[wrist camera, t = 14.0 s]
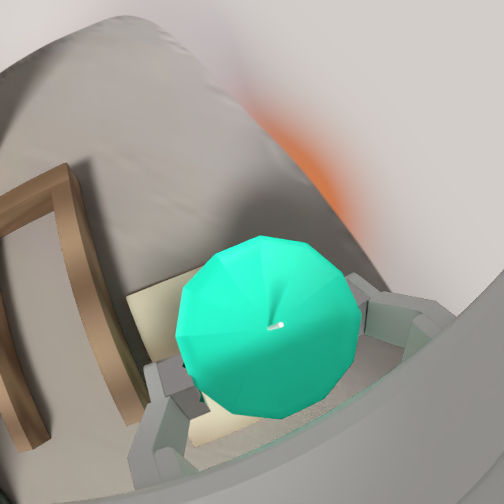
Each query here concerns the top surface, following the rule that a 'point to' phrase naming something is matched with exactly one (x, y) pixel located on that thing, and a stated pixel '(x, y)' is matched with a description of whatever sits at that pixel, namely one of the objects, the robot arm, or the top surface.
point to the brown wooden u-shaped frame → (87, 299)
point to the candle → (267, 327)
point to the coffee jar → (3, 499)
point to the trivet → (178, 350)
